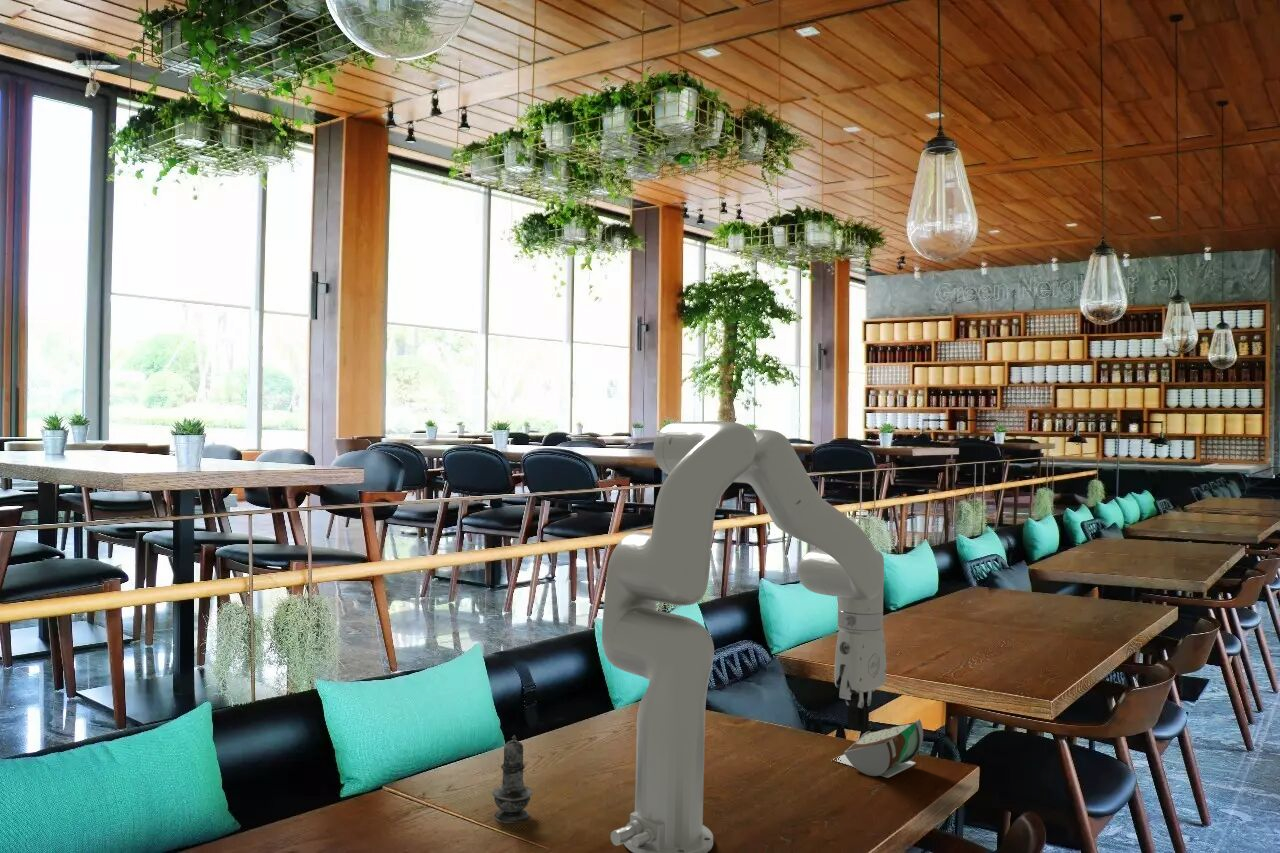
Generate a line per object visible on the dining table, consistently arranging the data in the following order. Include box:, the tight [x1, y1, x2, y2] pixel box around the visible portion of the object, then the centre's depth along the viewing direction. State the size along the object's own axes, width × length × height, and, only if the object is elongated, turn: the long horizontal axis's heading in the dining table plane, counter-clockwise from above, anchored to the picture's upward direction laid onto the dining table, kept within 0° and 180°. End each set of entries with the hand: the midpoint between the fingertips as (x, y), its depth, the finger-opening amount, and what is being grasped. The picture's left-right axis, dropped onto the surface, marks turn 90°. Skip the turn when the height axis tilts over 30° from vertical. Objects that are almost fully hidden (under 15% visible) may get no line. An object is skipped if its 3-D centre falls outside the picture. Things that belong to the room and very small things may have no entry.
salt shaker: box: [492, 734, 533, 824], centre depth 139 cm, size 6×6×12 cm
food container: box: [843, 718, 924, 777], centre depth 163 cm, size 12×6×10 cm
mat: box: [832, 753, 917, 779], centre depth 166 cm, size 10×11×1 cm
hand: (857, 728), depth 160 cm, fingers closed
